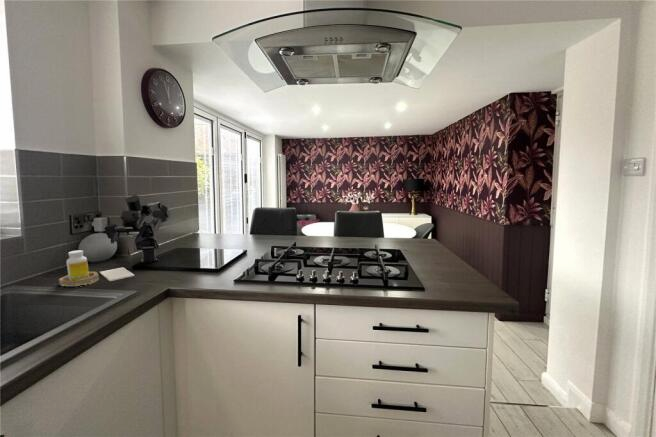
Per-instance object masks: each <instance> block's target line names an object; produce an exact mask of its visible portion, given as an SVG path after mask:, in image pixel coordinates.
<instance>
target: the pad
mask: <svg viewBox="0 0 656 437" xmlns="http://www.w3.org/2000/svg"><path fill="white" fill-rule="evenodd" d="M99 274H100V275H102V277H104V278H105V279H106V280H107V281H108V282H113V281H118V280H122V279H126V278H132V277H135V274H134V273H132V272H131V271H129V270H127V269H126V267H123V266H122V267H117V268H113V269H108V270H104V271H103V270H102V271H99Z"/></svg>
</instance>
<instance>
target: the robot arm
mask: <svg viewBox="0 0 656 437" xmlns="http://www.w3.org/2000/svg"><path fill="white" fill-rule="evenodd" d="M124 202H125V205H126V208H127V210H122V211H121V213H120V218H119V219H121V220H122V223H121V224H122V226H118V224H114V223H113V224H112V223H111V224H106V225H105V226H104V230H105V234H106V236H107V238H108V239H110V244H115V243H116V242H117V241H118V239H119V237H121V236H120V235H121V233H122V234H123V233H126V235H128V236H129V235H136V237H135V239H134V243H135V246H136V250H137V251H141V255H142V259H140V262H142V263H143V262H144V263H143V264H147V262H149V263H153V262H152V261H154V262H157V260H158V261H159V259H158V258H157V257H156V250H158V249H159V248H160V242H159V241H158V239H157V237H156V235H157V233H158V231H159V229H160V227H161V226H162V223H165V222H167V221H168V220H169V218H170V217H171V213H170V210H169V208H168V207H167V206H165V205H164V204H163V203H162V201H150V202H149V203H146V204H145V203H144V204H142V202H141V198H140V196H138V195H137V194H136V195H132V196H129V197H126V198H124ZM147 217H151V218H152V219H151V222H147V221H146V220H147Z"/></svg>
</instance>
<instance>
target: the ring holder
mask: <svg viewBox="0 0 656 437" xmlns="http://www.w3.org/2000/svg"><path fill="white" fill-rule="evenodd" d="M58 280H59V281H58V282H59V286H60V285H61V286H80V285H85V286H88V285H87V284H89V285H92V284H94V283H96V282H98V281H99V280H100V277H99V273H98V272H97V271H89V278H85V279H80V280H76V281H69V277H68V274H67V275H65V276H63V277H60V278H59V279H58ZM61 286H60V287H61ZM80 287H81V286H80Z"/></svg>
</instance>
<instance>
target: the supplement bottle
mask: <svg viewBox="0 0 656 437" xmlns="http://www.w3.org/2000/svg"><path fill="white" fill-rule="evenodd" d="M67 254H68V258H67V260H66V262H65V263H66V268H67V275H68V277H69V281H76V280H80V279H85V278H89V272H90V270H89V264H88V263H89V262H88V258H87V257H86V256H84V250H82V249H81V250H77V249H76V250H72V251H69V252H68V253H67Z"/></svg>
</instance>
